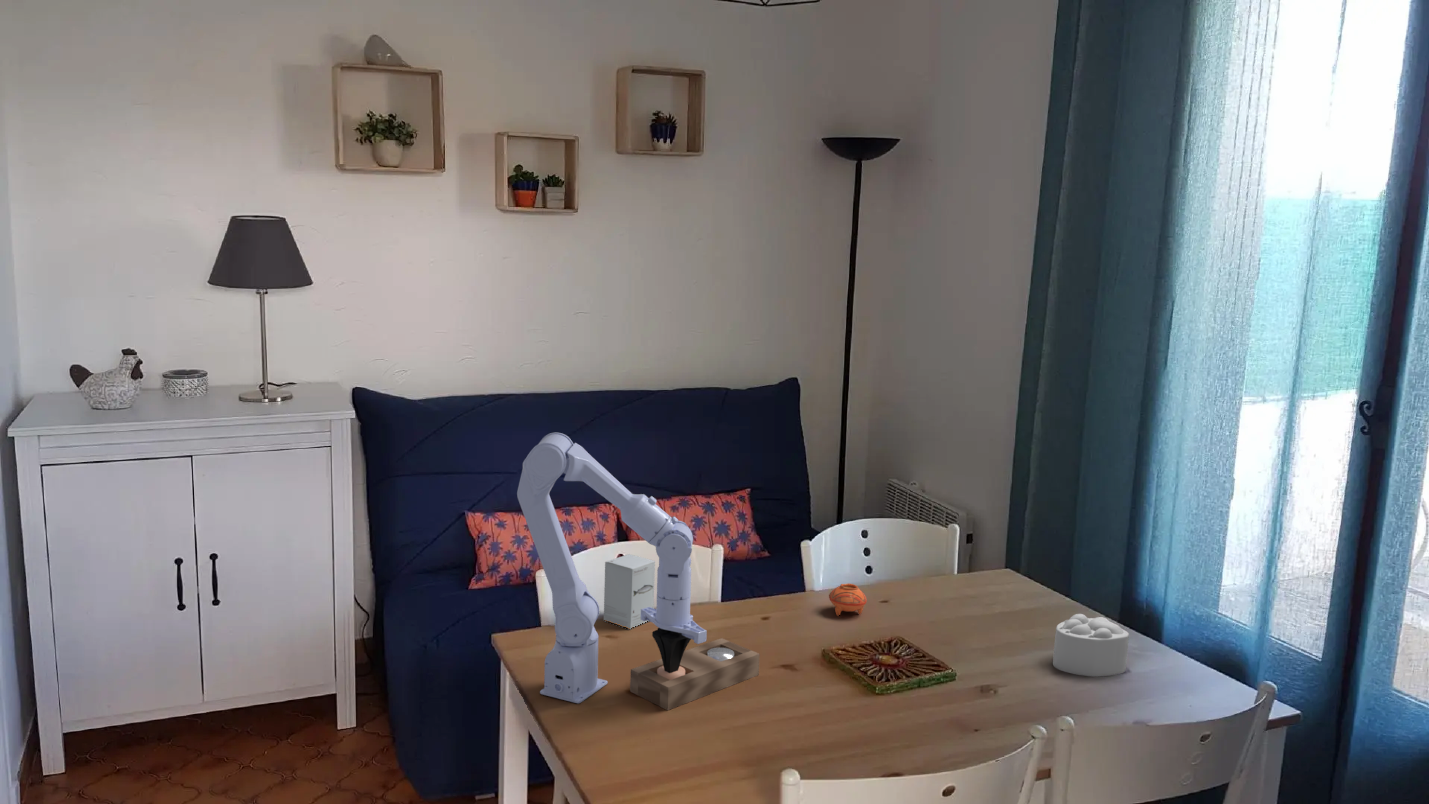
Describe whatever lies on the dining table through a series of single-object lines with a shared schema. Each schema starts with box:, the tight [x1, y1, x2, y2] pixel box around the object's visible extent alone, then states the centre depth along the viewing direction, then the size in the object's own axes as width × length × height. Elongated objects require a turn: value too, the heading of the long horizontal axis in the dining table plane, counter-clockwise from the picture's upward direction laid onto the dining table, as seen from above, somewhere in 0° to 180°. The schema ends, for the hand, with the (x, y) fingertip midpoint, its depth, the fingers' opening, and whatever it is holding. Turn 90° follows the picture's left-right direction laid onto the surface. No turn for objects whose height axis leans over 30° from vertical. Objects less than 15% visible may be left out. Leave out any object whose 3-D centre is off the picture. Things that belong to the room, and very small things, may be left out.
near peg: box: [657, 666, 685, 680], centre depth 188 cm, size 5×5×4 cm
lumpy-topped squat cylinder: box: [1052, 613, 1130, 677], centre depth 206 cm, size 10×13×9 cm
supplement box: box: [603, 553, 656, 630], centre depth 220 cm, size 7×7×13 cm
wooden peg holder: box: [629, 637, 761, 711], centre depth 192 cm, size 22×10×4 cm, turn 135°
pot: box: [828, 583, 868, 617], centre depth 229 cm, size 8×8×7 cm
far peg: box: [707, 648, 734, 661], centre depth 196 cm, size 5×5×4 cm
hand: (671, 670), depth 188 cm, fingers closed, pressing on near peg
